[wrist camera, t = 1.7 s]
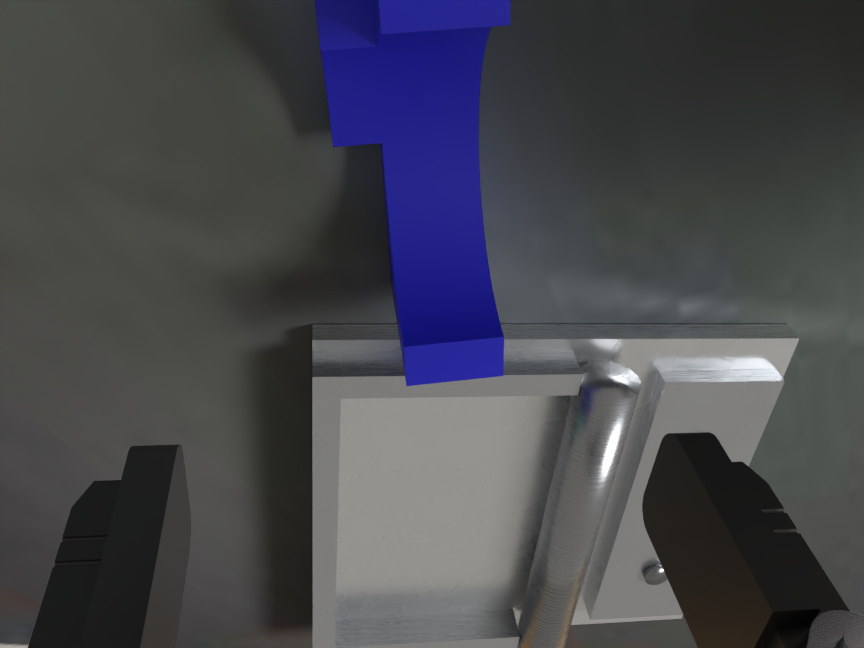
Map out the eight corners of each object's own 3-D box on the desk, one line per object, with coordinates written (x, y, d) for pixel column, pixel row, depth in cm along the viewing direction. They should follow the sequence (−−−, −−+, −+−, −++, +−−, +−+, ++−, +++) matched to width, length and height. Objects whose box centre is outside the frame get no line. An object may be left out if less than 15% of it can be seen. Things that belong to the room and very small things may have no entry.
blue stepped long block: (308, -78, 22) (307, -32, 17) (468, -88, 23) (511, -45, 18) (350, 286, 29) (357, 391, 24) (472, 274, 30) (503, 375, 25)
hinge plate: (787, 323, 33) (831, 376, 30) (674, 602, 43) (699, 660, 40) (312, 324, 30) (312, 382, 27) (312, 621, 40) (312, 685, 37)
